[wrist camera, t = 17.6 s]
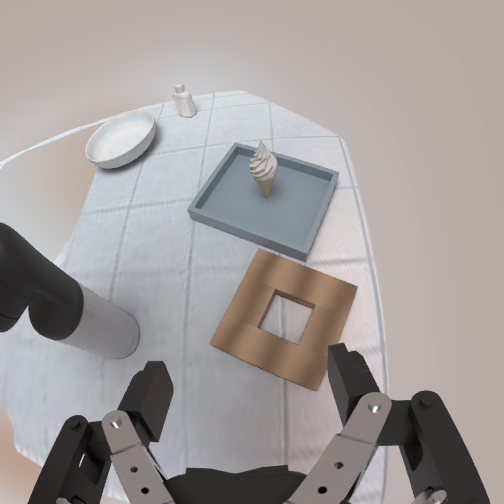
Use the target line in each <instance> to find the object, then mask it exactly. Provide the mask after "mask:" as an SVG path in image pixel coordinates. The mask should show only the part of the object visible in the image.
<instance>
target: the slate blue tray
mask: <svg viewBox="0 0 504 504" xmlns="http://www.w3.org/2000/svg"><path fill="white" fill-rule="evenodd" d="M257 149H258V148H255V147H251V146H247V145H243V144H239V143H234V145H233V146H232V147H231V149H230V150H229V151H228V153H227V154H226V155H225V157H224V158H223V159H222V161H221V162H220V163H219V165H218V166H217V168H216V169H215V170H214V172H213V173H212V175H211V176H210V177H209V179H208V180H207V182H206V183H205V184H204V186H203V187H202V189H201V190H200V192H199V193H198V195H197V196H196V197H195V199H194V200H193V202H192V203H191V205H190V206H189V208H188V209H187V210H188V212H189V214H190V217H191V219H192V220H195V221H197V222H200V223H203V224H205V225H208V226H211V227H213V228H216V229H219V230H221V231H224V232H227V233H229V234H232V235H235V236H237V237H240V238H243V239H245V240H248V241H250V242H253V243H256V244H258V245H261V246H264V247H266V248H269V249H271V250H274V251H277V252H279V253H282V254H285V255H287V256H290V257H292V258H295V259H298V260H300V261H303V262H306V259H307V257H308V255H309V252H310V250H311V248H312V245H313V243H314V240H315V238H316V235H317V233H318V230H319V228H320V225H321V223H322V220H323V218H324V215H325V213H326V210H327V208H328V205H329V203H330V200H331V197H332V195H333V192H334V190H335V187H336V184H337V180H338V176H339V172H337V171H334V170H331V169H327V168H324V167H321V166H318V165H315V164H312V163H309V162H305V161H302V160H299V159H295V158H292V157H288V156H285V155H281V154H278V153H274V152H270V153H272V154H273V156H274V157H275V158H276V159H277V166H278V173H277V175H276V177H275V180H274V182H273V185H272V188H271V190H270V193H269V195H268V198H265V196H264V195H263V193H262V191H261V190H260V188H259V186H258V185H257V183H256V181H255V179H254V178H253V177H252V175H251V174H250V168H251V167H250V166H249V165H250V164H251V163H252V162H251V161H250V159H251V158H254V156H253V155H254V154H256V152H255V151H256V150H257Z"/></svg>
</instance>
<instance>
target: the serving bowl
mask: <svg viewBox="0 0 504 504" xmlns="http://www.w3.org/2000/svg"><path fill="white" fill-rule="evenodd" d="M155 130H156V124H155V118H154V116H153V114H152V113H151V112H149V111H147V110H142V109H137V110H131V111H127V112H124V113H122V114H119V115H117V116H115V117H113V118H112V119H110V120H109V121H107V122H106V123H104V124H103V125H102V126H101V127H99V128H98V129H97V130H96V131H95V132H94V134H93V135H92V136H91V137H90V139H89V141H88V143H87V145H86V149H85V153H86V156H87V158H88V159H89V160H90V161H91V162H92V163H93V164H95V165H96V166H98V167H101V168H116V167H120V166H123V165H125V164H128V163H130V162H131V161H133V160H135V159H136V158H137V157H139V156H140V155H141V154H142V153H143V152H144V151H145V150H146V149H147V148H148V147H149V145H150V144H151V142H152V140H153V138H154V135H155Z"/></svg>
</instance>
